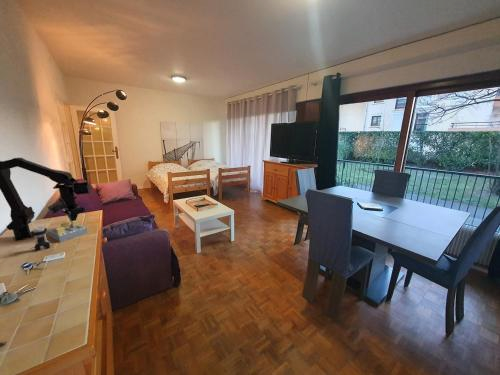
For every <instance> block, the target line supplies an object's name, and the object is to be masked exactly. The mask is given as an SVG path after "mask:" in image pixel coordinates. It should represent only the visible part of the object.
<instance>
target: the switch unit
mask: <svg viewBox="0 0 500 375" xmlns="http://www.w3.org/2000/svg"><path fill="white" fill-rule="evenodd" d="M69 225H70V228H68V229H65V233H64V234H60V235H57V234H56V230H55V229H56V228H53V229H49V230H47V233H48V236H49V237H50V238H52V239H53V240H56V241H58V242H59V243H63V242H64V241H69V240H71V239H74V238H77V237H81V236H83V235H86V234H88V229H87V227H86V226H83V225H80V226H76V227H72V226H71V223H69ZM60 227H61V226H59V227H58V228H60Z"/></svg>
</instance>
